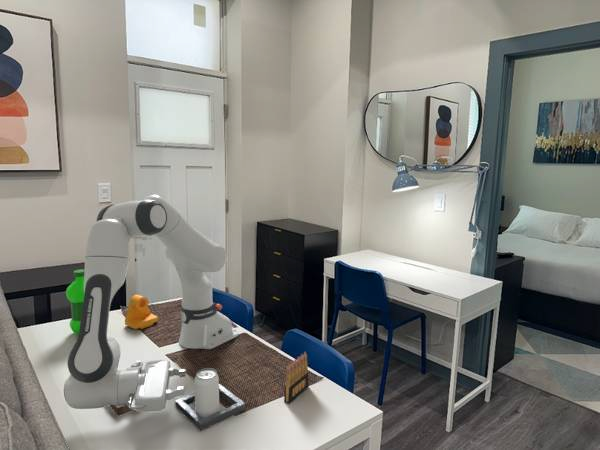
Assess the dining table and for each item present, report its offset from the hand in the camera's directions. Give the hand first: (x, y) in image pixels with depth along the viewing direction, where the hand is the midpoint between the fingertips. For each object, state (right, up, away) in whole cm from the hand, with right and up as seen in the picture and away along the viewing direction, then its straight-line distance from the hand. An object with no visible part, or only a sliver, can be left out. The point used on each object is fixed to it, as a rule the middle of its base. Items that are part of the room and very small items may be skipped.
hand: (185, 381), depth 118 cm
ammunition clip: (+30, -8, +11) cm, 33 cm away
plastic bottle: (-53, +1, +50) cm, 73 cm away
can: (+6, -9, +1) cm, 11 cm away
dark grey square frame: (+6, -9, +3) cm, 11 cm away
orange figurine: (-33, +2, +58) cm, 67 cm away
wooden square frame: (-18, -8, +7) cm, 21 cm away
